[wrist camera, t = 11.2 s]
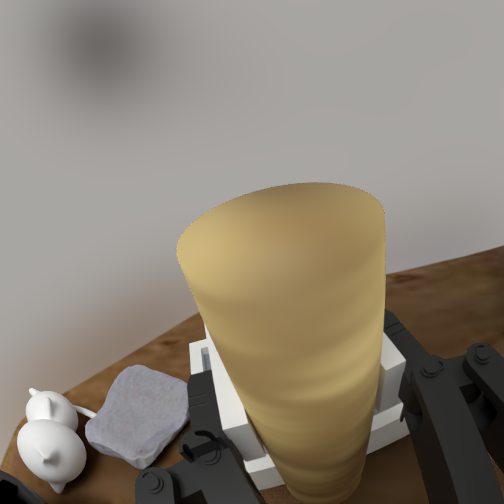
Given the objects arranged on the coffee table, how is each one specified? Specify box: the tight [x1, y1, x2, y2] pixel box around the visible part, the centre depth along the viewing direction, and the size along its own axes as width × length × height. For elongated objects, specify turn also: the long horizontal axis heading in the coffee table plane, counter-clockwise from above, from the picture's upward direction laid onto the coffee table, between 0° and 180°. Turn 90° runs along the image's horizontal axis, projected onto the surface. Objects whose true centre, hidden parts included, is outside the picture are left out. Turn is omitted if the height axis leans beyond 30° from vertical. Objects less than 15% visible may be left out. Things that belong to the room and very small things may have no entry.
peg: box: [176, 183, 386, 504], centre depth 10 cm, size 4×4×16 cm
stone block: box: [85, 365, 190, 470], centre depth 28 cm, size 12×5×10 cm
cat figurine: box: [17, 388, 97, 493], centre depth 24 cm, size 9×11×12 cm
